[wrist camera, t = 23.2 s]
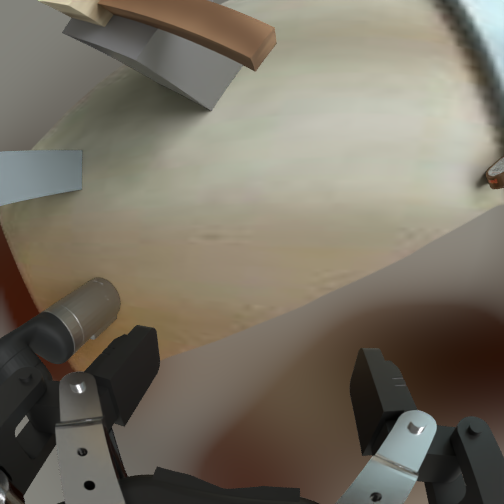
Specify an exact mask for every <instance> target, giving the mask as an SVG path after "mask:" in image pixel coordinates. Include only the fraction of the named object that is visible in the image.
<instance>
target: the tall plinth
mask: <svg viewBox="0 0 504 504" xmlns="http://www.w3.org/2000/svg"><path fill="white" fill-rule="evenodd" d="M81 189H82V150H31V151H8V152H0V206H2V205H6V204H10V203H15V202H19V201H24V200H28V199H33V198H38V197H43V196H48V195H53V194H58V193H64V192H69V191H75V190H81Z"/></svg>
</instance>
